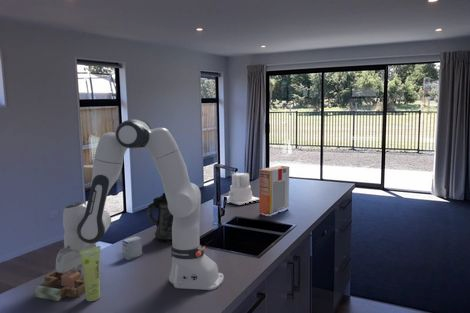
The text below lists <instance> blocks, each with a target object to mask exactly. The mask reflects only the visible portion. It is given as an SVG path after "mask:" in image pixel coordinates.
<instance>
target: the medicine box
mask: <svg viewBox="0 0 470 313" xmlns="http://www.w3.org/2000/svg"><path fill="white" fill-rule="evenodd" d="M141 256H143V239H142V237H140V236H133V237H129V238H126V239H124V240H122V257H123V259H125V260H127V261H130V260H132V259H135V258H138V257H141Z"/></svg>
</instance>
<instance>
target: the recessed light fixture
mask: <svg viewBox="0 0 470 313" xmlns="http://www.w3.org/2000/svg"><path fill="white" fill-rule="evenodd" d="M251 187H252V186H251V185H250V174H249V173H248V172H234V173H232V174H231V185H230V190H229V191H228V195H227V196H225V197H227V201H226V204H227V203H229V204H230V203H231V204H233V205H238V206H241V205H245V203H246V204H250V203H249V202H251V203H254V202H253V201H256V200H259V198H260V197H255V196H254V195H253V191H252V188H251ZM256 202H257V201H256Z"/></svg>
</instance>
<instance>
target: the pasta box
mask: <svg viewBox="0 0 470 313" xmlns="http://www.w3.org/2000/svg"><path fill="white" fill-rule="evenodd" d="M258 198H259V201H258V202H259V208H258V209H259V212H258V213H264V214H269V215H270V214H272V213H274V212H277V211H279V210H282V209H284V208H287V207H289V206H290V205H289V204H290V203H289V202H290V166H286V165H285V166H284V165H276V166H271V167H266V168H262V169H259V197H258Z"/></svg>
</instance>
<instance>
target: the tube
mask: <svg viewBox="0 0 470 313" xmlns="http://www.w3.org/2000/svg"><path fill="white" fill-rule="evenodd" d="M80 256H81V261H82V267H83V268H82V274H83V275H84V283H85V293H84V294H85V300H86V301H87V302H95V301H97V300H99V299H100V297H101V282H100V280H101V279H100V278H101V277H100V274H101V273H100V264H101V263H100V262H101V261H100V260H101V245H98V246H97V245H96V247H93V248H89V249H85V250H80ZM83 275H82V276H83Z"/></svg>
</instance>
